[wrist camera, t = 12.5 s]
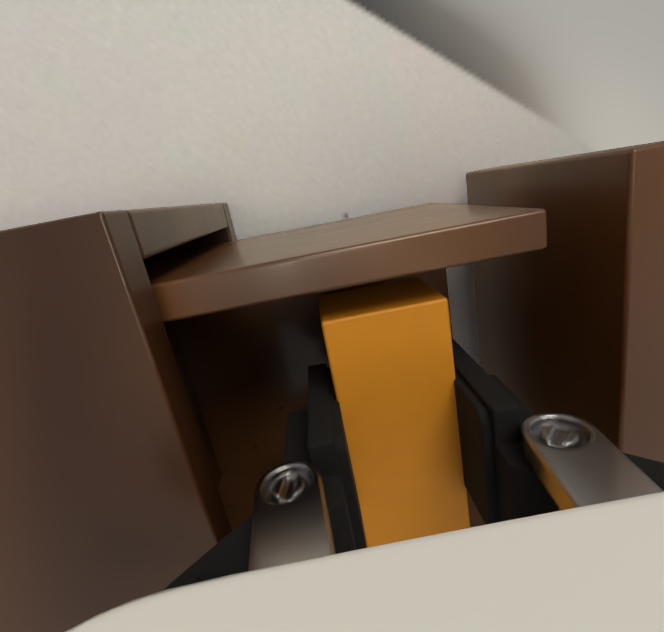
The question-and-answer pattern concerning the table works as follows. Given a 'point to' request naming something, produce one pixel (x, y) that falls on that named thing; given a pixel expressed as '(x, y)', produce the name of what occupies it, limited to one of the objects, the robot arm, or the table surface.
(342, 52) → the table surface
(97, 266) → the cabinet
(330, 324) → the block
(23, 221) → the table surface
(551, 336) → the drawer
